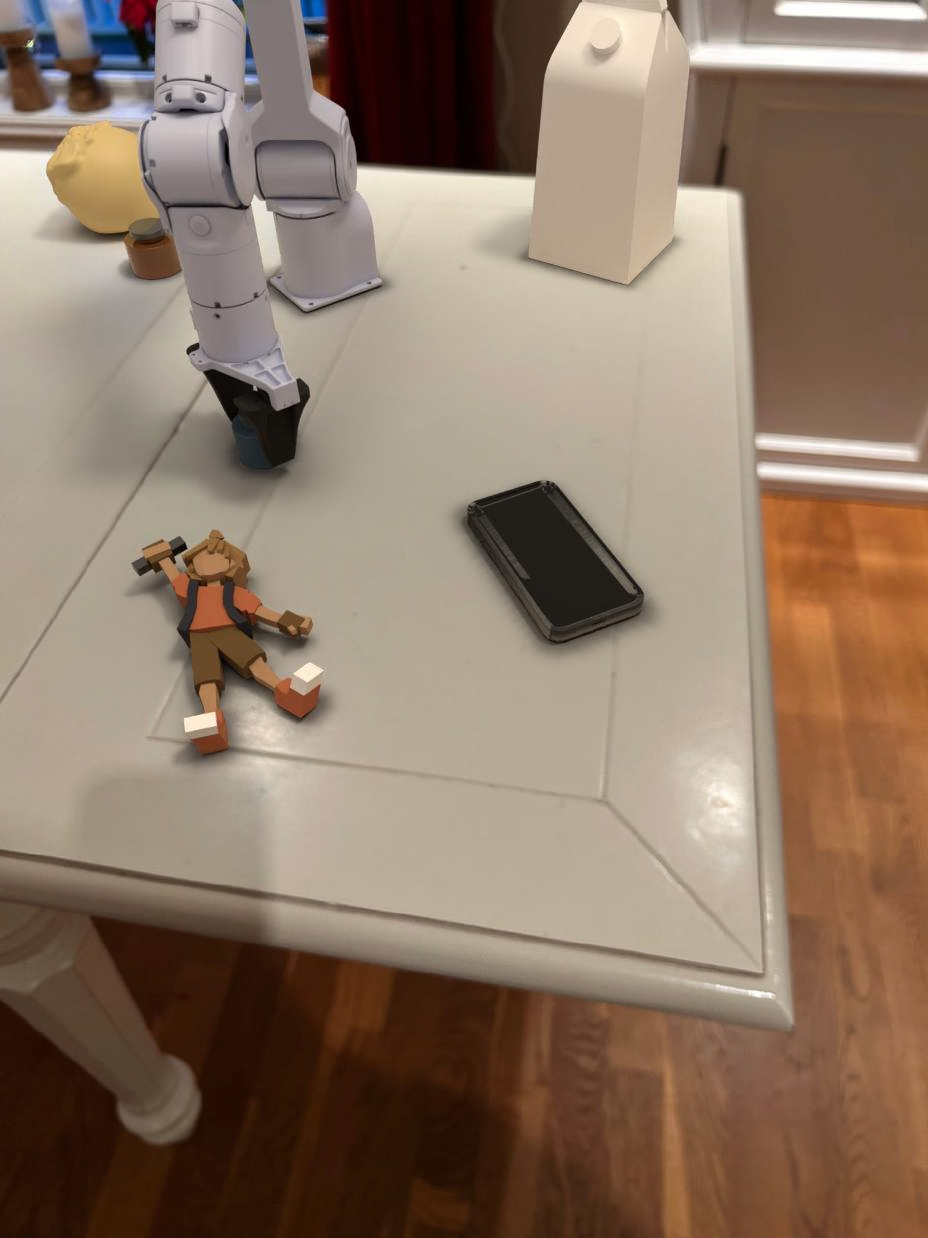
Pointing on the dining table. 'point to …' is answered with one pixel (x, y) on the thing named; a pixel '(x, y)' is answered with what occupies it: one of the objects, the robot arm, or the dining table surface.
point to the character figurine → (226, 631)
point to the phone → (554, 560)
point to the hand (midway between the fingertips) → (262, 439)
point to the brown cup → (151, 250)
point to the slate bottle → (248, 443)
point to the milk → (610, 140)
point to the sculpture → (100, 177)
